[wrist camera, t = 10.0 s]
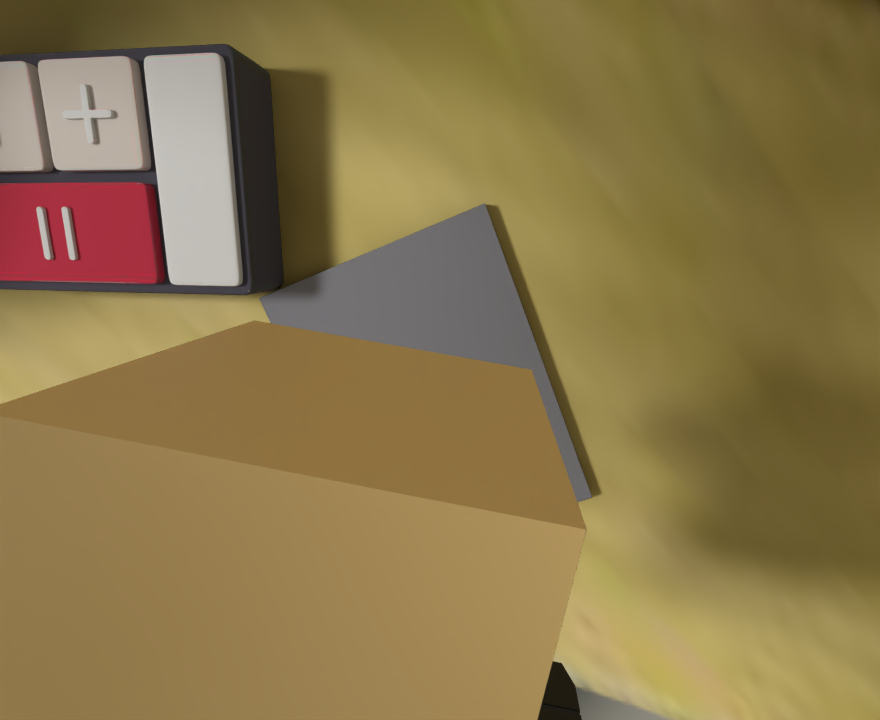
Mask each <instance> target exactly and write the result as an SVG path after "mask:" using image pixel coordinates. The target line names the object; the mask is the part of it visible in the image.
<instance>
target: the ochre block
mask: <svg viewBox="0 0 880 720" xmlns="http://www.w3.org/2000/svg"><path fill="white" fill-rule="evenodd" d="M586 531H587V529H586V526H585V523H584V520H583V517H582V514H581V512H580V509H579V506H578V503H577V500H576V497H575V494H574V491H573V488H572V485H571V482H570V480H569V477H568V474H567V471H566V468H565V465H564V462H563V459H562V456H561V453H560V451H559V448H558V445H557V442H556V439H555V436H554V433H553V430H552V427H551V424H550V422H549V419H548V416H547V413H546V410H545V407H544V404H543V401H542V398H541V395H540V392H539V390H538V387H537V384H536V381H535V378H534V375H533V372H532V370H531V369H525V368H519V367H514V366H508V365H503V364H497V363H491V362H486V361H480V360H474V359H469V358H463V357H458V356H452V355H446V354H441V353H435V352H429V351H424V350H418V349H412V348H407V347H401V346H396V345H390V344H384V343H379V342H373V341H367V340H362V339H356V338H350V337H345V336H339V335H334V334H328V333H322V332H317V331H311V330H305V329H300V328H294V327H289V326H283V325H277V324H272V323H266V322H260V321H255V320H254V321H251V322H248V323H245V324H242V325H239V326H236V327H233V328H230V329H227V330H224V331H221V332H218V333H215V334H212V335H209V336H206V337H203V338H200V339H197V340H194V341H191V342H188V343H185V344H182V345H179V346H176V347H173V348H169V349H166V350H163V351H160V352H157V353H154V354H151V355H148V356H145V357H142V358H139V359H136V360H133V361H130V362H127V363H124V364H121V365H118V366H115V367H112V368H109V369H106V370H103V371H100V372H97V373H94V374H91V375H88V376H85V377H82V378H79V379H76V380H73V381H69V382H66V383H63V384H60V385H57V386H54V387H51V388H48V389H45V390H42V391H39V392H36V393H33V394H30V395H27V396H24V397H21V398H18V399H15V400H12V401H9V402H6V403H3V404H0V720H537V719H538V715H539V712H540V708H541V704H542V700H543V696H544V692H545V688H546V685H547V681H548V677H549V673H550V669H551V665H552V662H553V658H554V654H555V650H556V646H557V642H558V638H559V635H560V631H561V627H562V623H563V619H564V615H565V611H566V608H567V604H568V600H569V596H570V592H571V588H572V585H573V581H574V577H575V573H576V569H577V565H578V562H579V558H580V554H581V550H582V546H583V542H584V538H585V535H586Z"/></svg>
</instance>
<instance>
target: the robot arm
mask: <svg viewBox="0 0 880 720" xmlns="http://www.w3.org/2000/svg"><path fill="white" fill-rule="evenodd" d="M537 720H582V719H581V715H580V709H579V704H578V699H577V693H576V688H575V685H574V683H573V682H572V680H571V678H570V677H569V675H568V673H567V672H566V670H565V668H564V667H563V665H562V663H558V662H552V665H551V669H550V673H549V677H548V681H547V685H546V688H545V692H544V696H543V700H542V704H541V708H540V712H539V715H538V719H537Z"/></svg>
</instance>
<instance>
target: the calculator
mask: <svg viewBox="0 0 880 720" xmlns="http://www.w3.org/2000/svg"><path fill="white" fill-rule="evenodd" d="M282 285H283V263H282V248H281V233H280V218H279V203H278V188H277V173H276V158H275V143H274V128H273V113H272V98H271V83H270V76H269V73H268V72H267V71H266V70H265V69H264V68H262V67H261V66H259V65H258V64H256V63H255V62H254V61H252V60H251V59H249V58H248V57H246V56H245V55H243V54H242V53H240V52H239V51H237V50H236V49H234V48H233V47H231V46H230V45H227V44H213V45H193V46H173V47H153V48H133V49H113V50H94V51H74V52H54V53H34V54H14V55H0V289H15V290H56V291H97V292H138V293H179V294H221V295H249V294H254V293H259V292H264V291H269V290H274V289H278V288H280V287H281V286H282Z"/></svg>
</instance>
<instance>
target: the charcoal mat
mask: <svg viewBox="0 0 880 720" xmlns="http://www.w3.org/2000/svg"><path fill="white" fill-rule="evenodd" d="M259 299H260V301H261V303H262V305H263V307H264V309H265V312H266V314H267V316H268V318H269V320H270V322H271V323H272V324H277V325H283V326H289V327H294V328H300V329H305V330H311V331H317V332H322V333H328V334H334V335H339V336H345V337H350V338H356V339H362V340H367V341H373V342H379V343H384V344H390V345H396V346H401V347H407V348H412V349H418V350H424V351H429V352H435V353H441V354H446V355H452V356H458V357H463V358H469V359H474V360H480V361H486V362H491V363H497V364H503V365H508V366H514V367H519V368H525V369H531V370H532V372H533V375H534V378H535V381H536V384H537V387H538V390H539V392H540V395H541V398H542V401H543V404H544V407H545V410H546V413H547V416H548V419H549V422H550V424H551V427H552V430H553V433H554V436H555V439H556V442H557V445H558V448H559V451H560V453H561V456H562V459H563V462H564V465H565V468H566V471H567V474H568V477H569V480H570V482H571V485H572V488H573V491H574V494H575V497H576V500H577V502H579V501H582V500H585V499H589V498H592V496H591V493H590V490H589V488H588V485H587V482H586V479H585V477H584V474H583V471H582V468H581V466H580V463H579V460H578V457H577V455H576V452H575V449H574V446H573V444H572V441H571V438H570V435H569V433H568V430H567V427H566V424H565V422H564V419H563V416H562V414H561V411H560V408H559V405H558V403H557V400H556V397H555V394H554V392H553V389H552V386H551V383H550V381H549V378H548V375H547V372H546V370H545V367H544V364H543V361H542V359H541V356H540V353H539V350H538V348H537V345H536V342H535V340H534V337H533V334H532V331H531V329H530V326H529V323H528V320H527V318H526V315H525V312H524V309H523V307H522V304H521V301H520V298H519V296H518V293H517V290H516V287H515V285H514V282H513V279H512V276H511V274H510V271H509V268H508V266H507V263H506V260H505V257H504V255H503V252H502V249H501V246H500V244H499V241H498V238H497V235H496V233H495V230H494V227H493V224H492V222H491V219H490V216H489V213H488V211H487V208H486V205H485V204H482V205H480V206H478V207H475V208H473V209H470V210H468V211H466V212H463V213H461V214H459V215H456V216H454V217H451V218H449V219H447V220H444V221H442V222H440V223H437V224H435V225H432V226H430V227H428V228H425V229H423V230H420V231H418V232H416V233H413V234H411V235H409V236H406V237H404V238H401V239H399V240H397V241H394V242H392V243H390V244H387V245H385V246H382V247H380V248H378V249H375V250H373V251H370V252H368V253H366V254H363V255H361V256H359V257H356V258H354V259H351V260H349V261H347V262H344V263H342V264H339V265H337V266H335V267H332V268H330V269H328V270H325V271H323V272H320V273H318V274H316V275H313V276H311V277H309V278H306V279H304V280H301V281H299V282H297V283H294V284H292V285H289V286H287V287H285V288H282V289H280V290H278V291H275V292H273V293H270V294H268V295H266V296H263V297H261V298H259Z"/></svg>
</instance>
